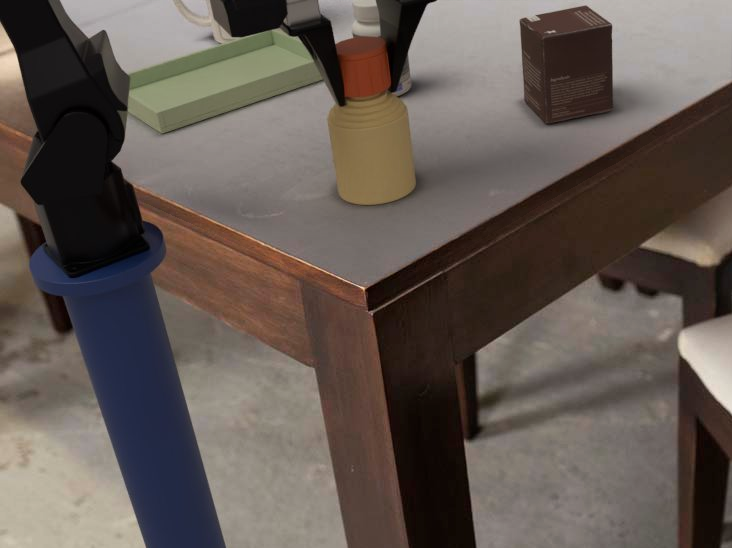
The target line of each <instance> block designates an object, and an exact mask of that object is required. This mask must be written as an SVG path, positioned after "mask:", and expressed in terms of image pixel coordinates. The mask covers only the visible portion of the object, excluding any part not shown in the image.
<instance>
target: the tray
mask: <svg viewBox="0 0 732 548" xmlns="http://www.w3.org/2000/svg"><path fill="white" fill-rule="evenodd" d="M126 73H127V74H128V75H129V76H130V78H131V79H130V89H129V98H128V113H129V114H131V115H133V116H134V117H135V118H137V119H139V121H141V122H143V123H145V124H146V125H148V126H149V127H151V128H152V129H153V130H155V131H157V132H158V133H160V134H161V135H163V134H166V133H168V132H171V131H174V130H177V129H181V128H183V127H187V126H189V125H192V124H195V123H198V122H201V121H205V120H207V119H210V118H212V117H216V116H220V115H222V114H225V113H228V112H231V111H234V110H237V109H239V108H242V107H245V106H249V105H251V104H254V103H258V102H261V101H264V100H266V99H270V98H273V97H274V96H278V95H281V94H285V93H287V92H290V91H293V90H296V89H298V88H302V87H306V86H308V85H310V84H311V85H312V84H313V83H316V82H319V81H320V82H321V81H324V80H323V78H322V76H321V74H320V72H319V71H318V69H317V67H316V65H315V63H314V61H313V59H312V57H311V56H310V54H309V52H308V51H307V49H306V48H305V46H304V45H303V43H302V42H301V40H300V39H299V38H298V37H291V36H289V35H287V34H286V33H284V32H281V31H279V30H276V29H274V30H270V31H266V32H262V33H258V34H254V35H250V36H246V37H242V38H239V39H236V40H233V41H229V42H226V43H223V44H222V43H219V44H217V45H214V46H210V47H207V48H204V49H200V50H197V51H194V52H191V53H188V54H185V55H181V56H178V57H174V58H171V59H168V60H166V61H162V62H158V63H156V64H152V65H148V66H145V67H142V68H139V69H136V70H132V71H129V72H126Z"/></svg>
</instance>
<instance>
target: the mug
mask: <svg viewBox="0 0 732 548" xmlns="http://www.w3.org/2000/svg"><path fill="white" fill-rule="evenodd" d="M172 2H173V5H174V6H175V8H176V9H177V11H178V12H179V13H180V15H181V16H182V17H183V18H184V19H185V20H187V21H188V22H189V23H191V24H193V25H195V26H198V27H202V28H207V27H208V28H209V27H211V31H212V36H213V39H214V40H215V42H217V43H219V44H223V43H226V42H229V41H233V40H236V39H239V38H242V37H231V36H230V35H229V34H228V33H227V32H226V31H225V30H224V29H223V28H222V27H221V26H220V25H219V24H218V23H217V22H216V21H215V20H214V17H213V12H212V8H211V3H210V0H205V2H206V6H207V12H208V15H200V14H197V13H196V12H194V11H192V10H191V9H190V8H188V7H187V6H186V5H185V3H184V2H183V0H172ZM276 30H279V31H281V32H284V31H283V30H282V29H280V28H278V29H276ZM284 33H285V32H284Z"/></svg>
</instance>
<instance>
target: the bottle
mask: <svg viewBox="0 0 732 548" xmlns="http://www.w3.org/2000/svg"><path fill="white" fill-rule="evenodd" d="M344 97H345V96H344ZM326 122H327V127H328V133H329V141H330V147H331V154H332V161H333V165H334V167H333V168H334V173H335V178H336V186H337V192H338V196H339V198H341V199H342V200H343V201H345V202H347V203H350V204H354V205H359V206H375V205H383V204H388V203H392V202H395V201H398V200H400V199H403V198H404V197H406V196H408V195H409V194H410V193H412V192H413V191H414V190H415V188H416V185H417V179H416V171H415V162H414V153H413V144H412V135H411V127H410V118H409V108H408V106H407V105H406V104H405V102H404V100H403V99H402V98H400V97H399V96H396V95H394V94H392V93H391V92H390V91H387V90H385V91H383V92H381V93H379V94H376V95H372V96H367V97H345V105H344V106H342V107H339V106H338V105H337V104H336V103H334V105H333V106H332V107H331V108H330V110H329V112H328V115H327V118H326Z"/></svg>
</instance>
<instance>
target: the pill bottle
mask: <svg viewBox="0 0 732 548" xmlns="http://www.w3.org/2000/svg"><path fill="white" fill-rule="evenodd" d="M352 12H353V17H354V18H353V19H355V21H354V22H353V24H352V27H351V34H352V38H356V37H366V36H371V37H379V38H381V34H380V19H379V18H380V17H379V11H378V7H377V4H376V0H352ZM411 88H412V78H411V70H410V60H409V54H408V55H407V58H406V61H405V65H404V68H403V71H402V75H401V78H400V81H399V85H398V88H397V91H396V92H394V93H392V94H394V95H396V96H397V97H399V96H402V95H404V94H406V93H407V92H408V91H409V90H411ZM387 91H388V90H387Z"/></svg>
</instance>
